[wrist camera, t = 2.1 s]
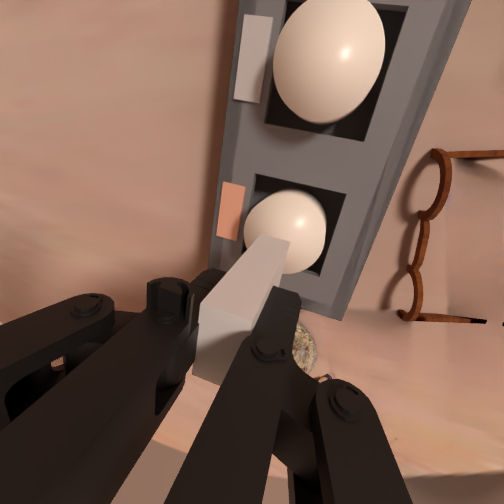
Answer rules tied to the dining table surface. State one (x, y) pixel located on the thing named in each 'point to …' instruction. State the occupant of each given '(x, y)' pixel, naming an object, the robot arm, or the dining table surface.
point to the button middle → (328, 58)
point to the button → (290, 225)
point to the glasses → (425, 216)
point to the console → (326, 141)
